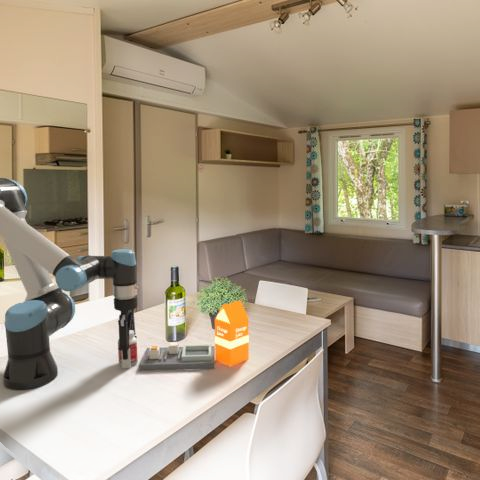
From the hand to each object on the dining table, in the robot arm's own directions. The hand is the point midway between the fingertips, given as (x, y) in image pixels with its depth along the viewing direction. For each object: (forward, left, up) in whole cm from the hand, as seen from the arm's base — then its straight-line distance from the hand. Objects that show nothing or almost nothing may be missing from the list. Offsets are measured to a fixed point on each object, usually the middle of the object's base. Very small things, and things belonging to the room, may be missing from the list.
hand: (128, 362), depth 143 cm
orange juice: (+35, +1, -1) cm, 35 cm away
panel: (+17, +1, 0) cm, 17 cm away
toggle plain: (+15, +3, +2) cm, 15 cm away
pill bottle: (0, 0, 0) cm, 0 cm away
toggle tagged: (+9, -1, +2) cm, 9 cm away
